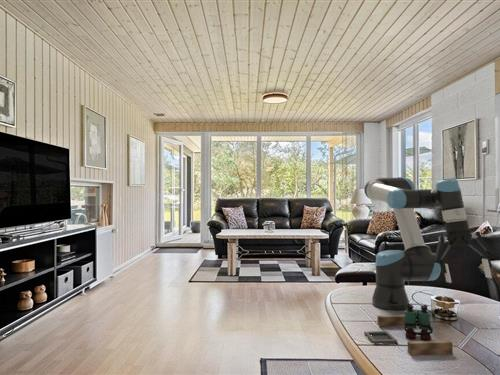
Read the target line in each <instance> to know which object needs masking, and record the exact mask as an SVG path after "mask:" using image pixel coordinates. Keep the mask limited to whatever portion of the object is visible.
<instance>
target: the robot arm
mask: <svg viewBox="0 0 500 375" xmlns="http://www.w3.org/2000/svg"><path fill="white" fill-rule="evenodd" d="M363 190H364V195H365V197H367V198H368V199H370V200H372V201H381V202H384V203H386V204H388V205H387V206H388V207H389V208H390V209H393V213H394V216H395V220H396V222H397V227H398V230H399V233H400V237H401V240H402V243H403V246H404V250H401V249H395V250H394V249H388V250H383V251H382V250H381V251H379V252H378V253H376V255H375V264H374V265H375V289H374V292H373V295H372V298H371V302H372V303H373V304H374V305H375V307H376V306H377V307H376V308H379V309H383V310H389V311H405V310H407V309H408V308H407V304H410V300H409V297H408V294H407V291H406V288H405V282H417V281H418V282H428V281H435V280H437V279H438V278H439V277H440V274H444V278H445V282H446V283H449V284H451V283H453V282H452V277H451V273H450V270H449V264H448V263H446V262H447V261H448V259H449V257H450V256H451V254H452V252H453V251H454V249H455V248H460V247H466V246H467V247H470V248H471V249H472V250H473V251H475V253H477V254H479V256H480V257H482V258H481V263H482V267H483V270H484V271H483V272H484V276H485V278H487V279H488V278H489V279H493V276H492V273H491V268H492V266H493V265H492V262H491V259H492V258H493V257H495V256H496V253H495V252H494V250H493V249H492V248H491V247H490V246H489V245H488V244H487V242H486V241H485V240H484V239H483V237H482V235H481V232H480V231H473V232H471V231H470V227H469V221H468V220H466V219H467V214H466V209H465V205H464V201H463V195H462V191H461V187H460V185H459V181H458V179H456V178H449V179H448V178H447V179H444V180H443V179H442V180H439V181H437V182H436V183H435V188H433V189H431V188H430V189H428V188H427V189H416V187H415V184H414V182H413V181H412V179H410V178H409V177H401V176H399V177H375V178H372V179H370V180H368V181H367V182H366V183H365V185H364V189H363ZM414 209H427V210H436V209H440V211H441V215H442V219H443V222H445V223H444V230H445V233H446V236H442V235H441V236H438V237H437V240H438V243H437V246H436V251H435V252H432V249H431V247H429V245H427V244H425V240H424V238H423V235H422V231H421V228H420V226H419V222H418V220H417V217H416V214H415V211H414ZM472 238H473V239H475V241H477V243H478V244H479V246H480V247H481V248H480V247H479V246H478V245H477V244H476V243H475V242H474V241H472ZM447 241H448V242H449V243H448V245H447V247H446V248H445V250H444V247H445V243H446V242H447ZM443 250H444V252H443ZM373 304H372V305H373ZM374 305H373V306H374Z"/></svg>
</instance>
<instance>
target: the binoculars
mask: <svg viewBox="0 0 500 375" xmlns="http://www.w3.org/2000/svg"><path fill="white" fill-rule="evenodd" d="M407 308H408V309H405V310H404V315H405V317H404V326H403V329H404V332H405V337H404V338H406V339H408V340H410V341H416V339H417V336H420V341H432V336H431V335H432V334H433V333H434V327H432V323H431V314H430V312H429V311H428V305H427V304H423V305H421V306H420V309H421V310H420V309H417V310H416V309H414V305H413V304H410V303H409V304H407ZM417 328H418V329H419V330H420V331H415V329H417Z"/></svg>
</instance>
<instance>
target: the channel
mask: <svg viewBox="0 0 500 375" xmlns="http://www.w3.org/2000/svg"><path fill="white" fill-rule="evenodd" d="M404 317H405V314H395V315H390V314H389V315H387V314H385V315H377V316H376V318H377V326H378V325H379V326H385V327H404ZM379 326H378V327H379ZM453 351H454V350H453V342H452V341H450V340H431V341H422V340H420V341H419V340H417V341H416V340H410V341H407V354H408V353H409V354H410V355H409V354H408V355H409V356H434V354H437V355H438V354H439V355H438V356H441V354H442V355H443V354H444V355H453V354H454V353H453ZM437 355H436V356H437ZM444 355H443V356H444Z"/></svg>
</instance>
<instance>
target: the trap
mask: <svg viewBox="0 0 500 375" xmlns="http://www.w3.org/2000/svg"><path fill="white" fill-rule="evenodd" d="M363 334H365V335H366V336H367V337H368V338H367V337H366V336H365V335H364V336H365V337H366V338H367V339H368V341H370V343H371V344H372V343H397V344H398V340H397V339H396V338H395V337H394V336H393V335H392V334H391V333H390V332H389V331H388V330H383V331H381V330H379V331H378V330H377V331H374V330H372V331H364V332H363ZM371 335H372V336H371Z"/></svg>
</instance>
